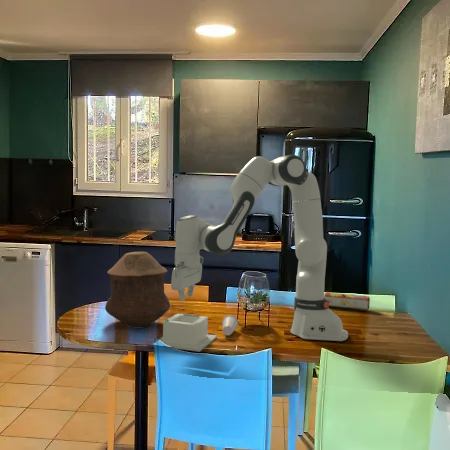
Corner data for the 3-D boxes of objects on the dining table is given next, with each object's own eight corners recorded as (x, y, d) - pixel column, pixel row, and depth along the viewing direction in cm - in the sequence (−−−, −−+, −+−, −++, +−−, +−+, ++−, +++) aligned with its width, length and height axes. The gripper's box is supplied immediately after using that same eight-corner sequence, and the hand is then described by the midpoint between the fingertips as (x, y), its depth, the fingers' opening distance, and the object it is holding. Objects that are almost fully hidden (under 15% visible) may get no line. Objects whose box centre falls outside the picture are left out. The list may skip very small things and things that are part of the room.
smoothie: (216, 325, 197) (221, 314, 211) (223, 341, 198) (227, 329, 211) (232, 320, 196) (236, 309, 210) (238, 335, 197) (241, 324, 210)
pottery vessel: (178, 332, 203) (180, 255, 201) (112, 338, 192) (113, 257, 190) (159, 316, 226) (160, 247, 224) (99, 321, 216) (100, 249, 214)
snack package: (368, 311, 245) (369, 307, 251) (369, 298, 243) (370, 294, 250) (323, 307, 251) (325, 303, 258) (323, 294, 250) (325, 290, 257)
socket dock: (216, 337, 197) (217, 314, 196) (199, 351, 180) (200, 326, 179) (173, 332, 202) (173, 310, 202) (152, 345, 185) (152, 321, 185)
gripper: (183, 265, 178) (183, 305, 179) (205, 257, 197) (204, 293, 198) (167, 263, 180) (166, 303, 181) (189, 256, 199) (188, 292, 200)
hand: (186, 298), depth 190 cm, fingers open, 6 cm apart
